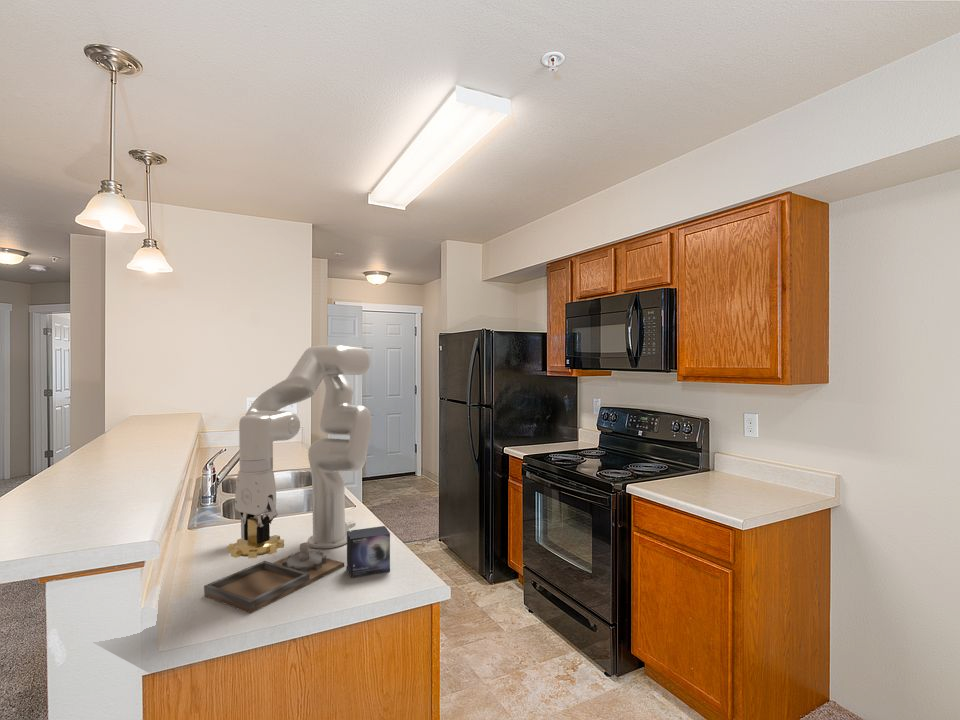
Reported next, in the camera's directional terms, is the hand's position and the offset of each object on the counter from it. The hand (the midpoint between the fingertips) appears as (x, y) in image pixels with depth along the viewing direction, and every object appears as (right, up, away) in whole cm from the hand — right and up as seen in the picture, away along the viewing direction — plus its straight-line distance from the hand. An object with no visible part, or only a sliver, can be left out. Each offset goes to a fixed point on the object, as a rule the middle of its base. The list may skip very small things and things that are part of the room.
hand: (256, 539), depth 127 cm
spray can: (-15, -12, +32) cm, 38 cm away
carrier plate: (+3, -12, +6) cm, 14 cm away
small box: (+25, -12, +11) cm, 30 cm away
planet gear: (0, -2, 0) cm, 2 cm away
